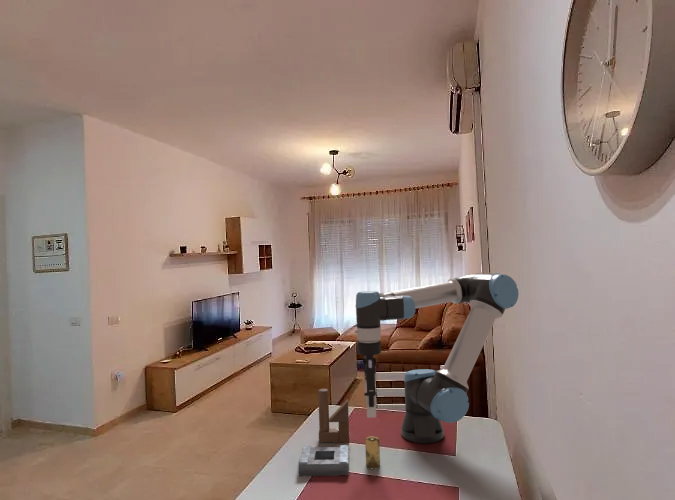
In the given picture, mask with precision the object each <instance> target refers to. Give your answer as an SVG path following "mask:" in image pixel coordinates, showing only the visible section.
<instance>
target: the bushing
mask: <svg viewBox="0 0 675 500" xmlns="http://www.w3.org/2000/svg"><path fill="white" fill-rule="evenodd" d="M364 444H365V445H364V447H365V466H367V467H369V468H368V469H370V468H373V469H372V470H376V469H375V468H377V469H379V468H380V467H381V458H380V457H381V454H380V453H381V451H380V438H379V437H377V436H373V435H372V436H367V437H365V439H364ZM367 467H366V468H367Z"/></svg>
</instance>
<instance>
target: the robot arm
mask: <svg viewBox="0 0 675 500" xmlns="http://www.w3.org/2000/svg"><path fill="white" fill-rule="evenodd" d="M519 293H520V292H519V288H518V285H517V282H516V281H515V280H514V278H512V277H511V276H510V275H508V274H505V273H504V274H503V273H497V272H496V273H479V272H477V273H471V274H467V275H462V276H458V277H453V278H449V279H448V280H447V281H445V282H440V283H435V284H433V283H432V284H428V285H422V286H421V285H420V286H416V287H410V288H409V287H408V288H404V289H398V290H393V291H386V292H379V291H377V290H362V291H359V292H356V295H355V315H356V316H355V318H356V329H355V330H354V334H356V339H357V342H356V353H357V355H362V356H363V355H364V357H363V358H362V365H363V370H364V371H363V372H364V380H365V381H364V385H365V388H364V389H365V392H364V395H363V396H364V397H365V403H366V418H367V419H369V418H377V401H376V400H377V397H376V396H377V392H376V373H377V372H376V369H377V368H376V366H377V360H376V357H374V356H376V355H377V356H378V355H380V354H382V353H381V352H382V342H381V341H380V340H381V338H382V336H381V335H382V334H381V333H382V332H381V331H382V330H381V322H382V321H391V320H393V321H394V320H396V321H397V320H407V319H411V318H413V317H414V316H415V313H416V309H421V308H425V307H431V306H437V305H441V304H447V303H452V304H456V305H457V304H463V303H465V304H470V307H471V308H470V311H469V313H468V314H467V317H466V319H465V321H464V323H463V325H462V328H461V329H460V332H459V333H458V336H457V338H456V341H454V344H453V346H452V349H451V350H450V353H449V355H448V357H447V359H446V361H445V363H444V365H443V367H442V368H441V369H439V370H434V369H427V368H426V369H425V368H424V369H422V368H421V369H412V370H409V371H406V372H405V373H404V377H403V378H404V379H403V380H404V381H403V383H404V402H405V403H404V405H405V413H404V417H403V419H402V423H401V428H400V429H401V431H400V432H401V433H400V434H401V436H402V437H403V438H404V439H406V440H408V441H410V442H413V443H418V444H433V443H437V442H439V441H441V440H443V438H444V437H445V431H444V430H445V429H444V426H443V423H442V422H444V423H448V424H453V423H456V422H459V421H460V420H462V419H463V418H464V417H465V416H466V414H467V413H468V410H469V407H470V402H469V397H468V394H467V393H468V392H469V385H468V380H469V378H470V375H471V373H472V371H473V369H474V366H475V364H476V362H477V360H478V357H479V355H480V353H481V352H482V350H483V347H484V345H485V344H486V343H485V342H486V341H487V338H488V336H489V334H490V332H491V330H492V327H493V326H494V323H495V321H496V319H499V318H502V317H503V315H504V313H505V311H506V309H511V308H513V307H514V306H515V305H516V304H517V302H518V300H519Z"/></svg>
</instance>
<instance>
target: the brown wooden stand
mask: <svg viewBox="0 0 675 500" xmlns="http://www.w3.org/2000/svg"><path fill="white" fill-rule="evenodd" d="M317 392H318V421H319V423H318V425H319V428H318V443H350V420H349V399H348V398H347V399H346V400H345V401H344V402H343V403H342V404H341V405H340V406H339V407H338V408H337V409H336V410H335V412H333V414H331V416H330V406H329V405H330V403H329V389H328V388H320V389H318V390H317ZM330 423H338V429H336V428H330Z"/></svg>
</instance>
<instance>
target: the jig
mask: <svg viewBox="0 0 675 500" xmlns="http://www.w3.org/2000/svg"><path fill="white" fill-rule="evenodd" d="M339 475H350V447H349V445H348V444H342V445H341V444H340V446H330V447H329V446H325V447H324V446H321V447H316V446H315V447H312V445H303V447H302V449H301V454H300V457H299V461H298V477H337V476H338V477H340V476H339Z"/></svg>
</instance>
